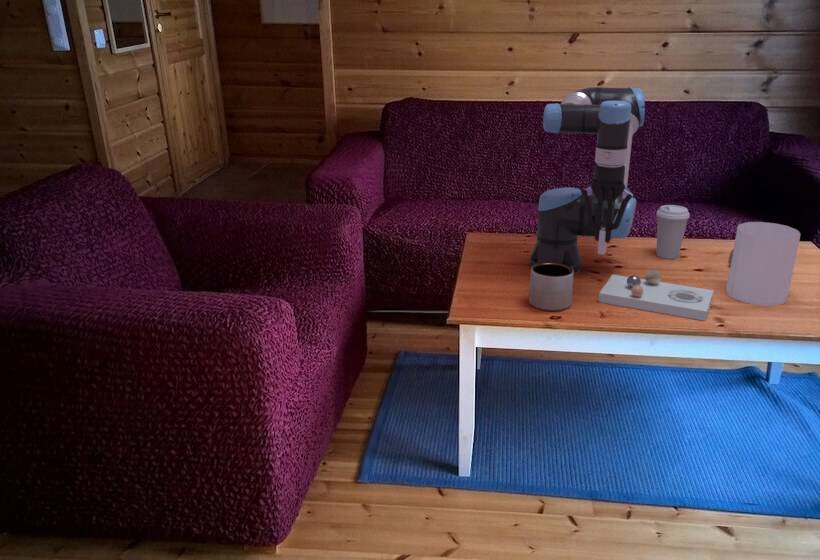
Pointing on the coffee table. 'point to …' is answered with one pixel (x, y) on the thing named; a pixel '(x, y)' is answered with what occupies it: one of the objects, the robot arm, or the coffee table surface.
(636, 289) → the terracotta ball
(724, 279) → the coffee table surface
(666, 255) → the coffee cup
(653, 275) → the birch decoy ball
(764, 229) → the container
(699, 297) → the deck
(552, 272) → the planter
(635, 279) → the steel ball
